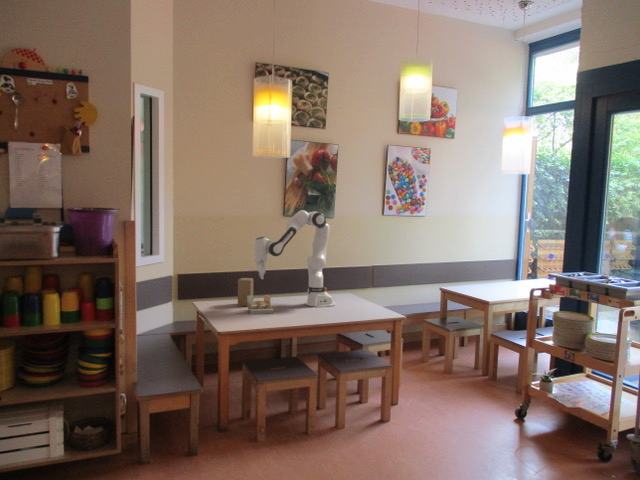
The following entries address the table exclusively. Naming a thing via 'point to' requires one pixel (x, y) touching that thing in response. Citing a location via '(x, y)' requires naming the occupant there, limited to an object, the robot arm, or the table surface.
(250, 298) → the cargo
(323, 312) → the table surface
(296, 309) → the table surface
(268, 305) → the pallet
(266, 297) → the cargo
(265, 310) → the dock
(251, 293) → the wooden block
